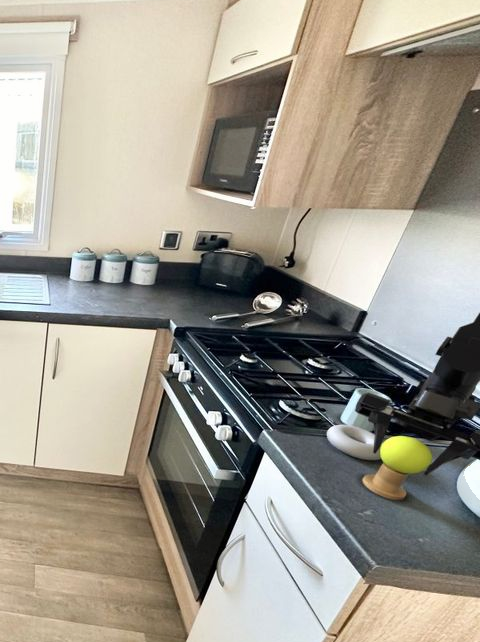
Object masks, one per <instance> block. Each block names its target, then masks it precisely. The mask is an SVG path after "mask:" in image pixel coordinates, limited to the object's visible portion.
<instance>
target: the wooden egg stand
mask: <svg viewBox="0 0 480 642" xmlns="http://www.w3.org/2000/svg"><path fill="white" fill-rule="evenodd" d="M409 475H410V473H403V472H399V471H396V470H394V469H392V468H390V467H389V466H387V465H386V464H385V463H384V462H383V463H381V466H380V467H379V469H378V470H377V472H376V473H375V474H374V473H367V474H364V475H363V477H362V483H363V485H364V486H365V487H366V488H367V489H368V490H370V491H371V492H373V493H374V494H376V495H377V496H381V497H383V498H385V499H389V500H391V501H392V500H393V501H402V500H404V499H405V497H406V496H407V491H406V489H404V488H403V487H402V486H403V484H404V482H405V481H406V479H407V478H408V477H409Z"/></svg>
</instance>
